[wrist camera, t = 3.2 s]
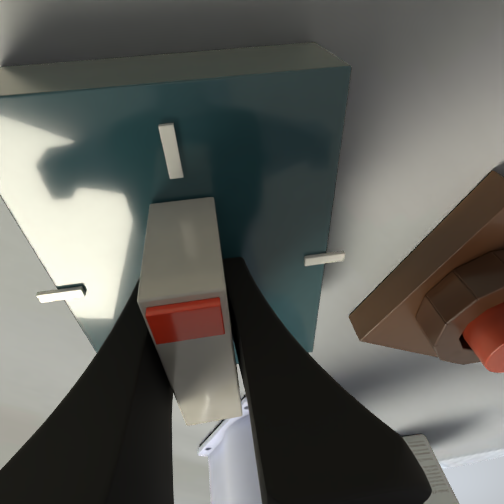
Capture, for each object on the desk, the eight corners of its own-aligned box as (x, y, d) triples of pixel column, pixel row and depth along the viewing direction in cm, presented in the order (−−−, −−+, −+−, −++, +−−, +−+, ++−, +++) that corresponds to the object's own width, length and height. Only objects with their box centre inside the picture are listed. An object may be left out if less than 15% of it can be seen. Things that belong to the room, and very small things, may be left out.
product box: (400, 455, 39) (436, 537, 33) (351, 462, 38) (380, 548, 32) (425, 432, 35) (470, 521, 30) (371, 439, 34) (408, 532, 28)
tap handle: (231, 325, 14) (244, 425, 11) (185, 332, 13) (186, 435, 11) (213, 195, 10) (227, 297, 7) (148, 203, 9) (134, 310, 7)
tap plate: (307, 301, 18) (326, 353, 16) (111, 330, 17) (100, 390, 15) (334, 39, 10) (380, 65, 8) (-26, 68, 9) (-95, 106, 7)
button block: (439, 338, 23) (472, 387, 20) (347, 316, 20) (373, 371, 17) (583, 225, 18) (654, 272, 15) (492, 169, 14) (561, 217, 12)
